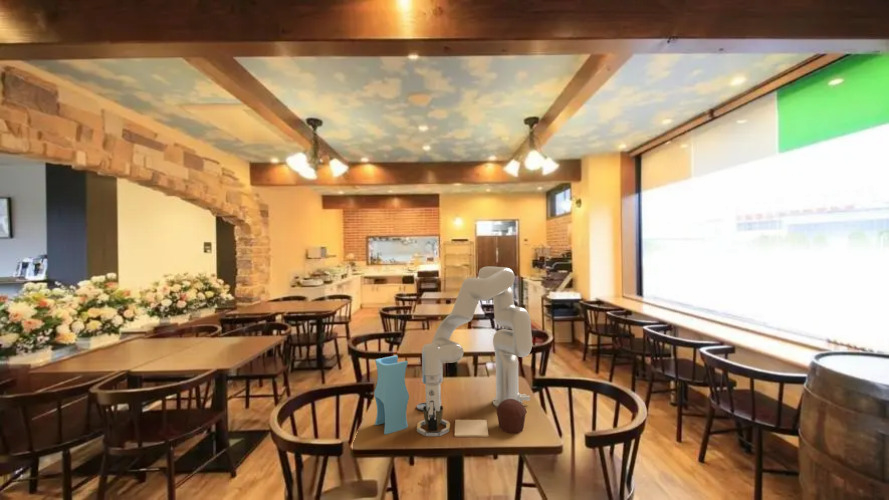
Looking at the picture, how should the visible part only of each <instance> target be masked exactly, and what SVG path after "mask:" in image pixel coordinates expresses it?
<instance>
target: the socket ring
mask: <svg viewBox="0 0 889 500" xmlns="http://www.w3.org/2000/svg"><path fill="white" fill-rule="evenodd" d="M440 424H442V426H445V428H442V429H441V430H428V431H427V430H425V429H423V428H422V426H424V425H427V424H426V422H425V419H422V420H420V421H419V422H417V424H416V425H417V426H416V432H417V433H418V434H420V435H422V436H424V437H442V436H443V435H445V434H448V433H449V432H450V428H451V423H450V421H448V420H447V419H446V420H445V419H444V418H442V420H441V423H440Z"/></svg>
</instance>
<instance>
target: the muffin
mask: <svg viewBox="0 0 889 500" xmlns="http://www.w3.org/2000/svg"><path fill="white" fill-rule="evenodd" d="M495 410H496V415H497V422H498V427H499V429H500V430H501V431H502V432H504V433H507V434H518V433H519V434H520V433H521V432H523V430H524V426H525V422H526V414H527V412H528V411H527V408H526V407H525V406H524V404H523V402H522V403H520V402H519V401H517V400H515V399H506V400H504V401H502V402H501V403H500V404H499V405H498V407H496V408H495Z"/></svg>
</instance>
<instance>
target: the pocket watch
mask: <svg viewBox="0 0 889 500" xmlns="http://www.w3.org/2000/svg"><path fill="white" fill-rule="evenodd" d="M424 406H426V402H421V403H418V404H416V409H417V410H420V411H423V407H424Z"/></svg>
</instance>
